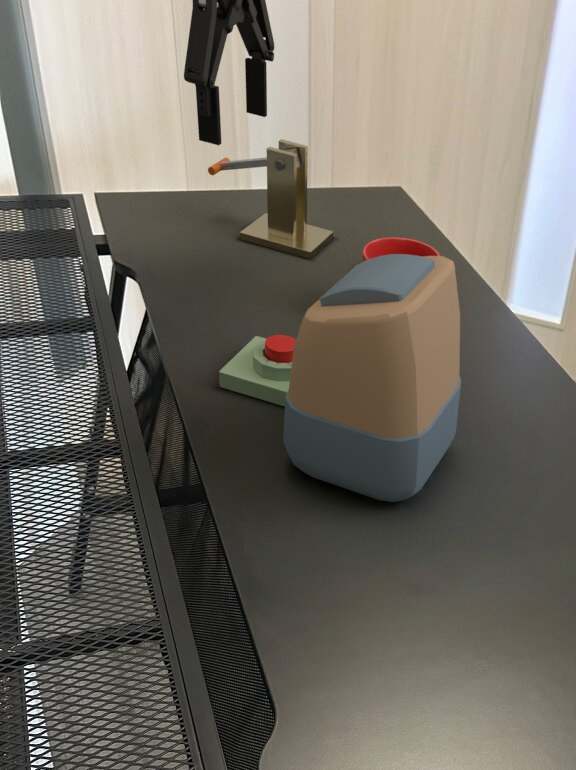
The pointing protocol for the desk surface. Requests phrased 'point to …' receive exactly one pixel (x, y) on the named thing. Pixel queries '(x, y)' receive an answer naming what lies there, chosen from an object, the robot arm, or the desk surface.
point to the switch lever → (243, 163)
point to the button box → (256, 374)
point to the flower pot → (397, 248)
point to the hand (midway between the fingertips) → (234, 127)
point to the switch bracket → (287, 206)
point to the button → (279, 348)
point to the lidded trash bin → (377, 377)
